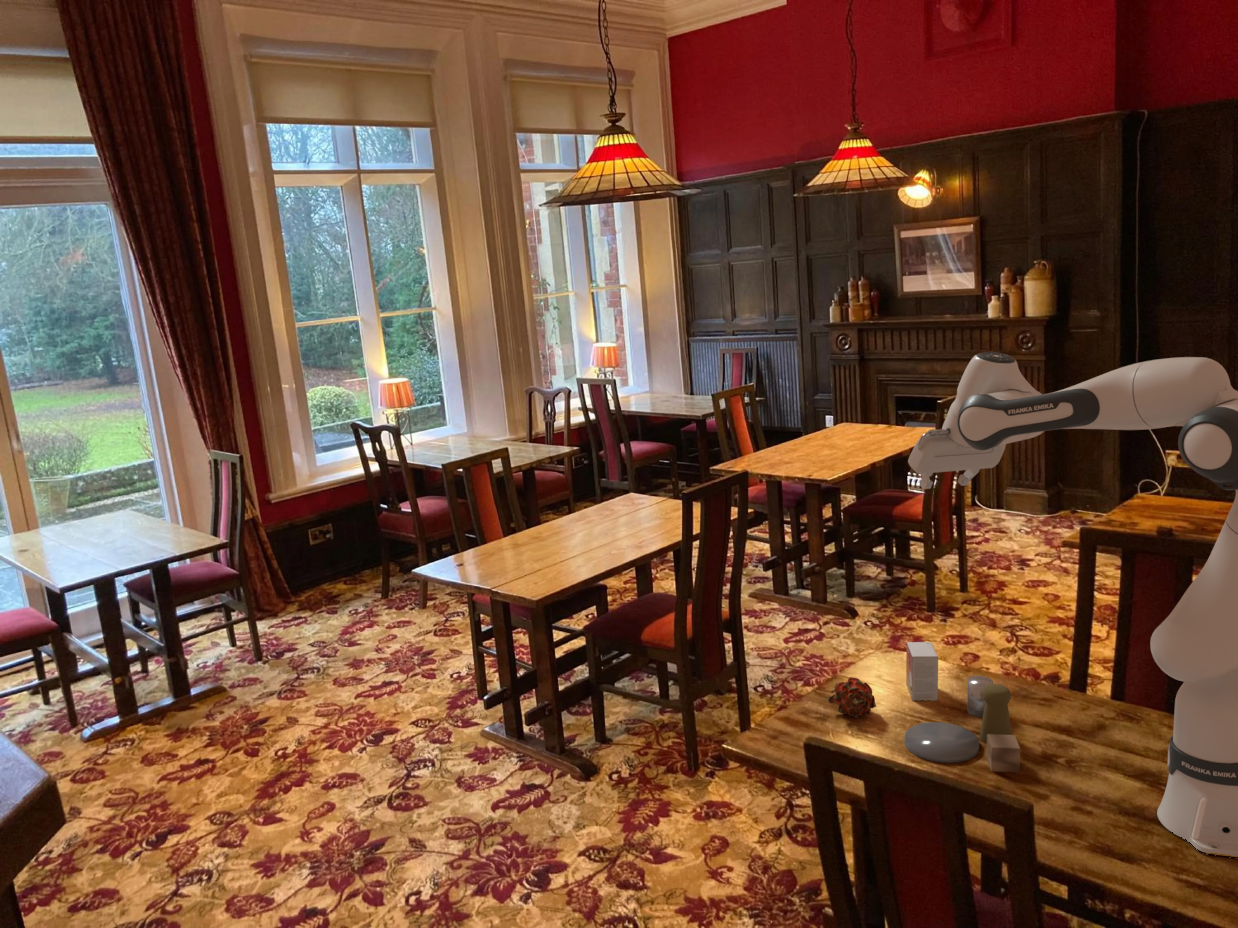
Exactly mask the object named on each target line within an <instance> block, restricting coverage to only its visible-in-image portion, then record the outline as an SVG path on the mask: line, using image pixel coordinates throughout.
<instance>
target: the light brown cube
mask: <svg viewBox="0 0 1238 928" xmlns="http://www.w3.org/2000/svg"><path fill="white" fill-rule="evenodd" d="M986 760H987V763H988V765H989V768H990V772H999V773H1000V772H1001V773H1002V772H1003V773H1004V772H1005V773H1021V772H1020V771H1021V769H1020V768H1021V767H1020V765H1021V763H1020V762H1021V747H1020V745H1019V742H1018V739H1017V737H1016V735H1015V734H1012V735H997V734H987V743H986Z"/></svg>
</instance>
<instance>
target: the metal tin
mask: <svg viewBox="0 0 1238 928" xmlns="http://www.w3.org/2000/svg"><path fill="white" fill-rule="evenodd" d="M990 684H994V681H993V679H992V678H989V677H987V676H983V675H972V676H969V677H968V678H967V688H966V689H967V691H966V693H967V700H966V702H967V704H966V705H967V706H966V709H967V710H966V711H967V713H968V714H969V715H971V716H973V717H977V718H983V714H984V708H985V700H984V698H983V690H984V688H985V687H986V686H987V685H990Z"/></svg>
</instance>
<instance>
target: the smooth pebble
mask: <svg viewBox="0 0 1238 928" xmlns="http://www.w3.org/2000/svg"><path fill="white" fill-rule="evenodd" d="M904 745H905V748H906V749H907V750H908V751H909V752H910V753H911V754H913V755H914V756H917V757H918V758H921V759H924V760H927V761H931V762H935V763H944V764H945V763H946V764H953V763H962V762H965V761H968V760H971V759H973V758H974V757H976V756H977V755H978V753H979V751H980V741H979V738H978V736H977V735H976V734H975V733H974V732H972V731H971V730H970V729H967V728H965V727H963V726H960V725H957V724H954V723H948V722H939V721H937V722H936V721H933V722H932V721H931V722H921V723H918V724H915V725H912V726H911V727H909V728H908V729H907V730H906V731H905V734H904Z"/></svg>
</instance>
